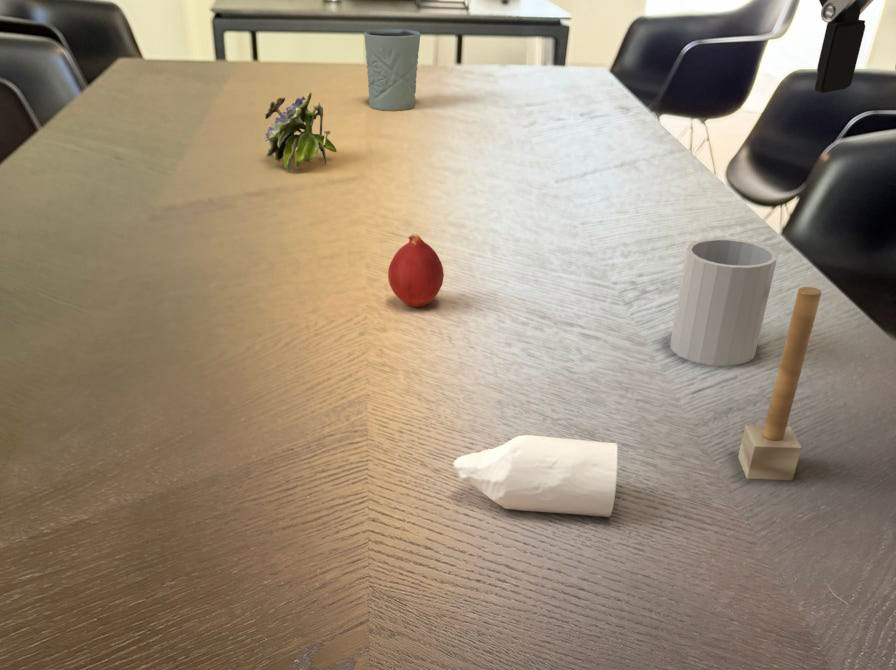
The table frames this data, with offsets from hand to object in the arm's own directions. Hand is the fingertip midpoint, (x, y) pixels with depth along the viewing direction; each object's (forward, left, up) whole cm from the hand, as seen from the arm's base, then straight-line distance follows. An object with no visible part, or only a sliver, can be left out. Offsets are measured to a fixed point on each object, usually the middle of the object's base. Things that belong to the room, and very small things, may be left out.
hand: (895, 102), depth 65 cm
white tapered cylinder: (+22, +8, -27) cm, 36 cm away
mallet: (+3, +2, -27) cm, 27 cm away
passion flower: (+54, -92, -27) cm, 110 cm away
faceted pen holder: (+3, -22, -27) cm, 35 cm away
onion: (+33, -32, -27) cm, 53 cm away
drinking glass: (+43, -135, -27) cm, 145 cm away
